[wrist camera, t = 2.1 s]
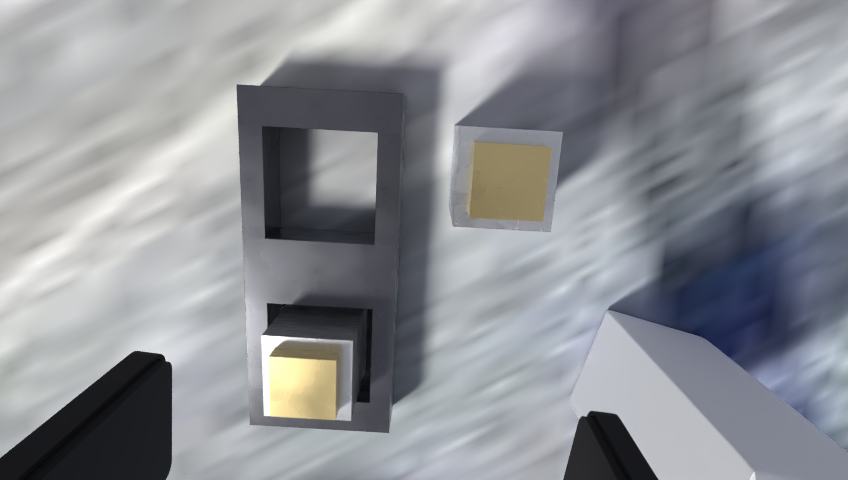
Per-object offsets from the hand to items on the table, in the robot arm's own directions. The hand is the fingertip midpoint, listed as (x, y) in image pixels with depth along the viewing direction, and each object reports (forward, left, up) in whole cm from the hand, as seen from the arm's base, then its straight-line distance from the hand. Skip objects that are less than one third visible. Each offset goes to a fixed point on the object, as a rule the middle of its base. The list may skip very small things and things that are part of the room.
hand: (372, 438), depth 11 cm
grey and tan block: (-5, -4, -20) cm, 21 cm away
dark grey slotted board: (+5, +2, -20) cm, 21 cm away
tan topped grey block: (+5, +7, -20) cm, 22 cm away
